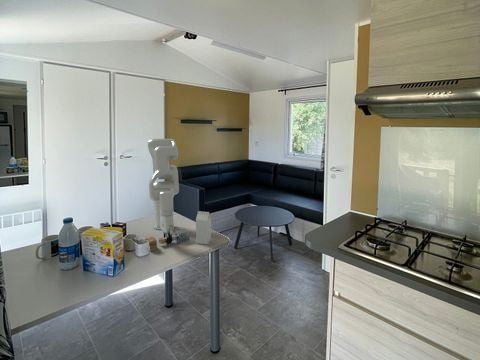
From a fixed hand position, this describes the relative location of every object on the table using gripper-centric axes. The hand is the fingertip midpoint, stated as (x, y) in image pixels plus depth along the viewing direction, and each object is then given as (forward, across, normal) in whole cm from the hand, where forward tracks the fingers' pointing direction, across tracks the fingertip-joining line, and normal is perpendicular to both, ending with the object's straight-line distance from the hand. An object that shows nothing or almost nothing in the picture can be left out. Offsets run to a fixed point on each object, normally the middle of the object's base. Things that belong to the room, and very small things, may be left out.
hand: (168, 241), depth 163 cm
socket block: (+2, 0, -10) cm, 10 cm away
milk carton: (+2, +9, +19) cm, 21 cm away
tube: (+1, 0, +3) cm, 4 cm away
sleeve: (+2, 0, +9) cm, 9 cm away
